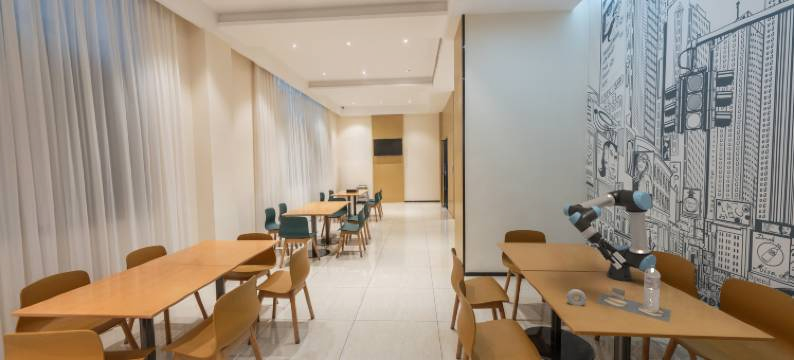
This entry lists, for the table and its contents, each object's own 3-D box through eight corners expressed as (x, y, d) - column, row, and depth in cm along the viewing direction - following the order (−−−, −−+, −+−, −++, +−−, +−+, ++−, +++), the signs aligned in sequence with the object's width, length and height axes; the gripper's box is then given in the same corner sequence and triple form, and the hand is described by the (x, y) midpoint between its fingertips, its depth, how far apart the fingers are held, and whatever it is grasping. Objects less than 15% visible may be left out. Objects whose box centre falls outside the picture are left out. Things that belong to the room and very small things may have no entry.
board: (602, 295, 194) (603, 293, 194) (671, 312, 172) (671, 310, 172) (596, 304, 182) (596, 302, 181) (669, 324, 159) (669, 322, 159)
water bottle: (639, 307, 174) (641, 263, 172) (650, 307, 174) (652, 263, 173) (650, 313, 167) (652, 267, 166) (662, 313, 168) (664, 267, 166)
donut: (584, 305, 180) (585, 289, 180) (586, 308, 177) (587, 291, 176) (565, 303, 183) (566, 287, 182) (567, 306, 179) (567, 289, 179)
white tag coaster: (607, 295, 192) (607, 285, 192) (629, 300, 184) (629, 290, 184) (602, 302, 182) (602, 292, 181) (625, 308, 174) (626, 298, 174)
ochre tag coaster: (640, 303, 181) (640, 293, 180) (665, 309, 173) (665, 299, 173) (636, 311, 170) (637, 301, 170) (663, 318, 163) (663, 307, 163)
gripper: (591, 234, 199) (619, 263, 190) (581, 242, 181) (612, 274, 172) (601, 227, 195) (631, 256, 186) (592, 235, 177) (624, 266, 168)
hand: (621, 265), depth 179 cm, fingers open, 13 cm apart
